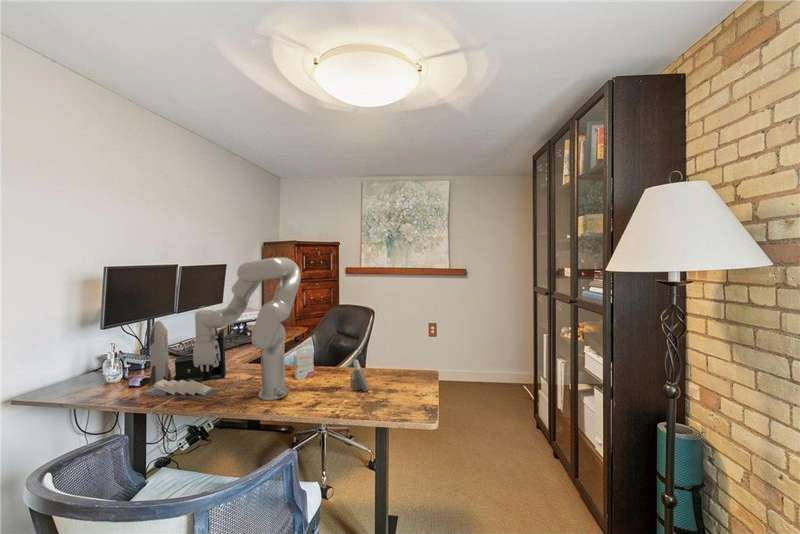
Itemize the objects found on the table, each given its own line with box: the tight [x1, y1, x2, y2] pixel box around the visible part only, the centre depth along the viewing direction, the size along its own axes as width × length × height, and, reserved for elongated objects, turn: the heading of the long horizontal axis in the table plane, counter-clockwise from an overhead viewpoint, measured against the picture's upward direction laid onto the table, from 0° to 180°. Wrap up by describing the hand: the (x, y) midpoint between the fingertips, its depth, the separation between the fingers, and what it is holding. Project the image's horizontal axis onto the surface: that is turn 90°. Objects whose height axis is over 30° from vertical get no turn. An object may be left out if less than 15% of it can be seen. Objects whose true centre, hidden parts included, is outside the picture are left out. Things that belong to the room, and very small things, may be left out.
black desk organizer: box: [172, 328, 227, 383], centre depth 176 cm, size 23×11×24 cm, turn 113°
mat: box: [157, 388, 223, 399], centre depth 157 cm, size 23×10×1 cm, turn 86°
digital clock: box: [350, 359, 369, 392], centre depth 163 cm, size 16×9×11 cm, turn 0°
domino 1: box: [143, 387, 168, 396], centre depth 158 cm, size 2×5×10 cm
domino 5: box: [183, 380, 213, 395], centre depth 156 cm, size 2×5×10 cm
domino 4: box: [173, 380, 197, 395], centre depth 157 cm, size 2×5×10 cm
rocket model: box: [148, 320, 172, 387], centre depth 173 cm, size 14×7×30 cm, turn 177°
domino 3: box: [164, 379, 188, 395], centre depth 157 cm, size 2×5×10 cm
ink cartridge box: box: [293, 347, 315, 381], centre depth 177 cm, size 9×5×15 cm, turn 120°
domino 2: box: [153, 379, 177, 395], centre depth 157 cm, size 2×5×10 cm
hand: (206, 379), depth 156 cm, fingers closed
